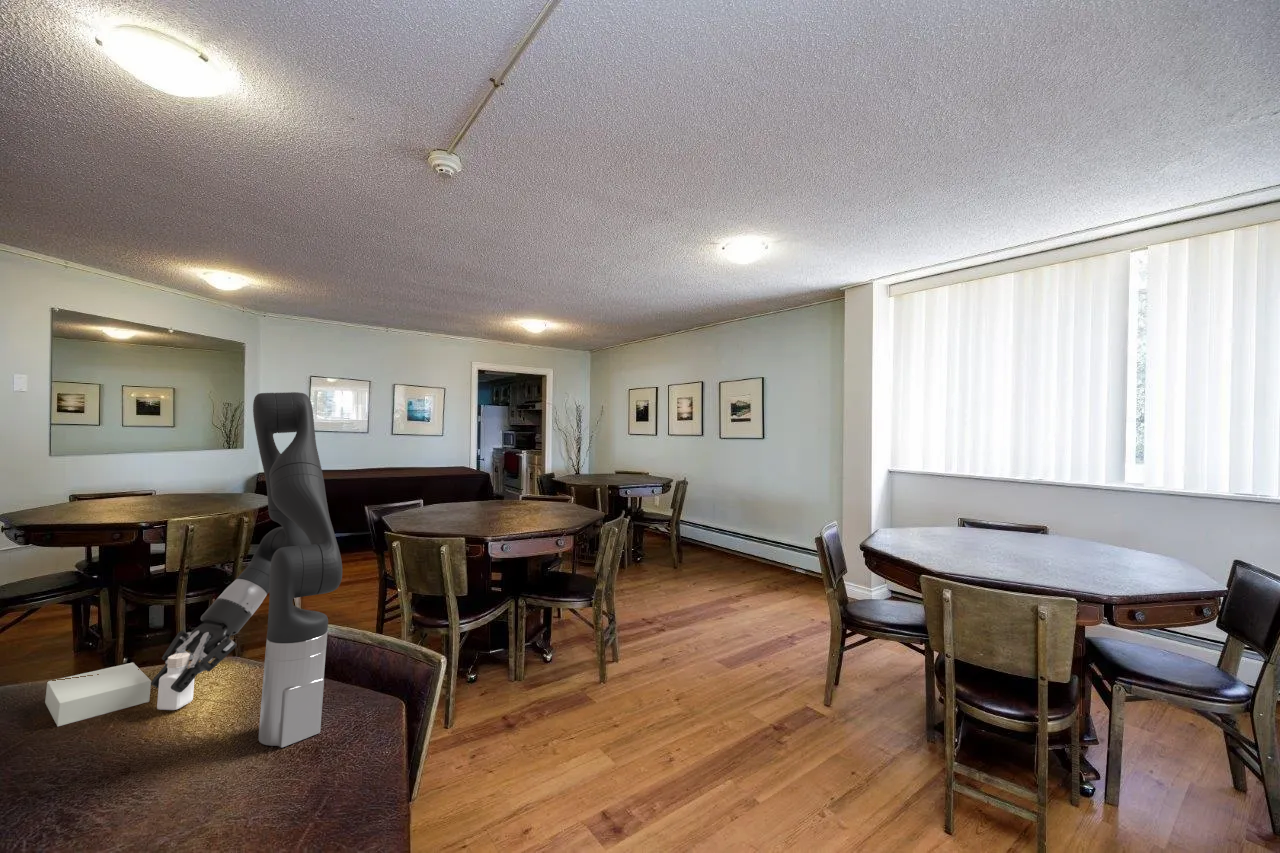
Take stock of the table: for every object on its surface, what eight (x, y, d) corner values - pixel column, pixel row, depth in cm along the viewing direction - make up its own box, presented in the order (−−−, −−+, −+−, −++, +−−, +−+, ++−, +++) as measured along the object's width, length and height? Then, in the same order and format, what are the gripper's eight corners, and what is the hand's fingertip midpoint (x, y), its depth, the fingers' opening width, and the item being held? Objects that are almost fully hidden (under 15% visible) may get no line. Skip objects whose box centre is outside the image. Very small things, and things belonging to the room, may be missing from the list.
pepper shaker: (176, 711, 96) (180, 659, 97) (154, 711, 96) (158, 659, 96) (194, 701, 100) (198, 651, 101) (173, 700, 100) (177, 651, 100)
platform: (149, 701, 100) (151, 680, 100) (57, 726, 90) (60, 703, 91) (131, 681, 108) (133, 662, 108) (45, 702, 98) (47, 681, 98)
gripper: (197, 593, 108) (122, 674, 96) (249, 600, 104) (178, 685, 92) (221, 611, 113) (153, 691, 101) (272, 619, 109) (207, 702, 97)
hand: (165, 688), depth 96 cm, fingers closed on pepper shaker, 4 cm apart
